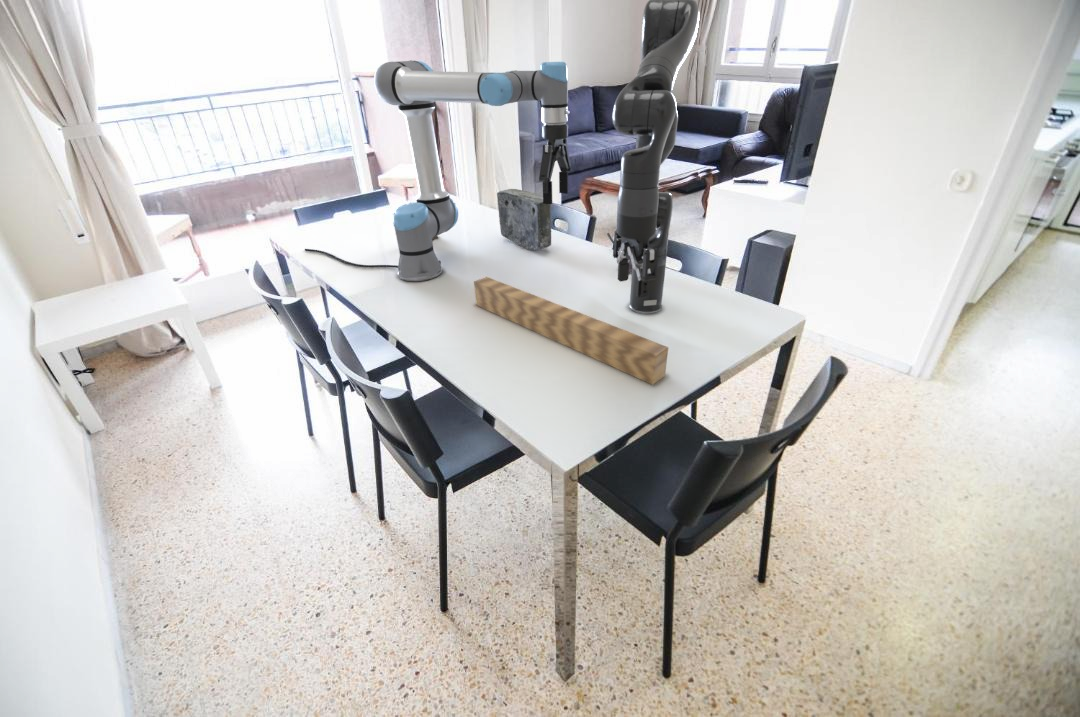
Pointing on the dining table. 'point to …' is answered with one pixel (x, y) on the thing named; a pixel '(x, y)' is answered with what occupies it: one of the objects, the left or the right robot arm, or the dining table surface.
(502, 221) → the concrete block
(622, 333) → the beam
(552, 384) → the dining table surface
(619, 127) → the right robot arm
